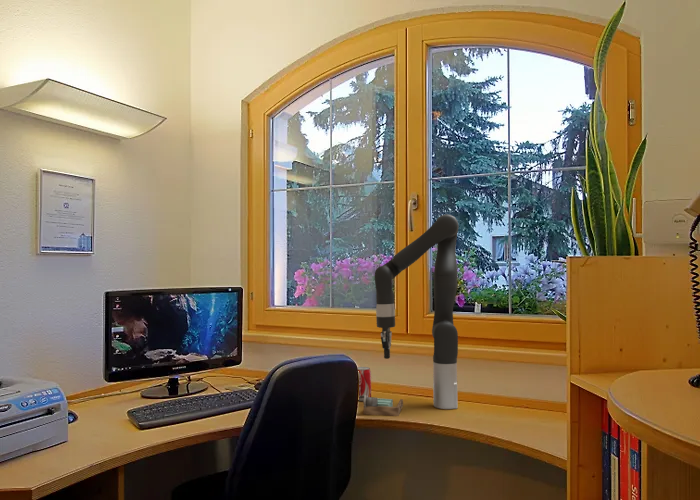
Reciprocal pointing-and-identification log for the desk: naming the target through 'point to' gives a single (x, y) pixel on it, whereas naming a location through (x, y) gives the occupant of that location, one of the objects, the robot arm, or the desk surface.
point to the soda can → (364, 382)
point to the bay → (380, 407)
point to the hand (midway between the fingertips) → (387, 358)
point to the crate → (385, 402)
